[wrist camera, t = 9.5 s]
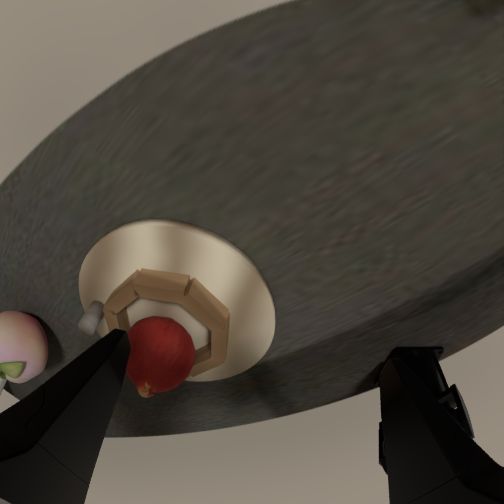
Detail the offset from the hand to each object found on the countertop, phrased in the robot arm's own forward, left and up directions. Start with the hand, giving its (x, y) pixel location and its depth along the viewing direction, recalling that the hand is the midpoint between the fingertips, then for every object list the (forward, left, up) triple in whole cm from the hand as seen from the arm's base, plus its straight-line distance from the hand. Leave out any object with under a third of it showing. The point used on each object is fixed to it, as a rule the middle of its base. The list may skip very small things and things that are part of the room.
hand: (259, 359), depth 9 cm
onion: (+7, +11, -12) cm, 18 cm away
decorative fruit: (+26, +17, -13) cm, 34 cm away
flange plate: (+7, +11, -13) cm, 18 cm away
